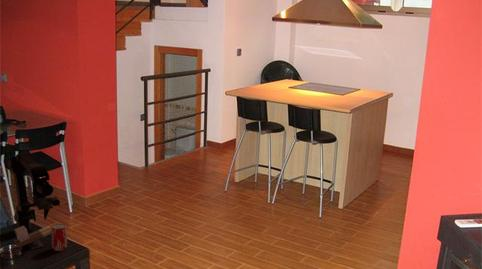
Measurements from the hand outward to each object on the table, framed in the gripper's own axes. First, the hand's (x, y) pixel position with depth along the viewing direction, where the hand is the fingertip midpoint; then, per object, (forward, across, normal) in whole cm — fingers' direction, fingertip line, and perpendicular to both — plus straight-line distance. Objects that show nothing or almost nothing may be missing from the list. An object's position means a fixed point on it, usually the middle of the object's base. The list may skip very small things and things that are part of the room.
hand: (40, 220), depth 259 cm
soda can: (+13, +6, -11) cm, 18 cm away
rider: (+8, -8, 0) cm, 12 cm away
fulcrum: (+12, -3, 0) cm, 13 cm away
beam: (+8, -3, 0) cm, 9 cm away
